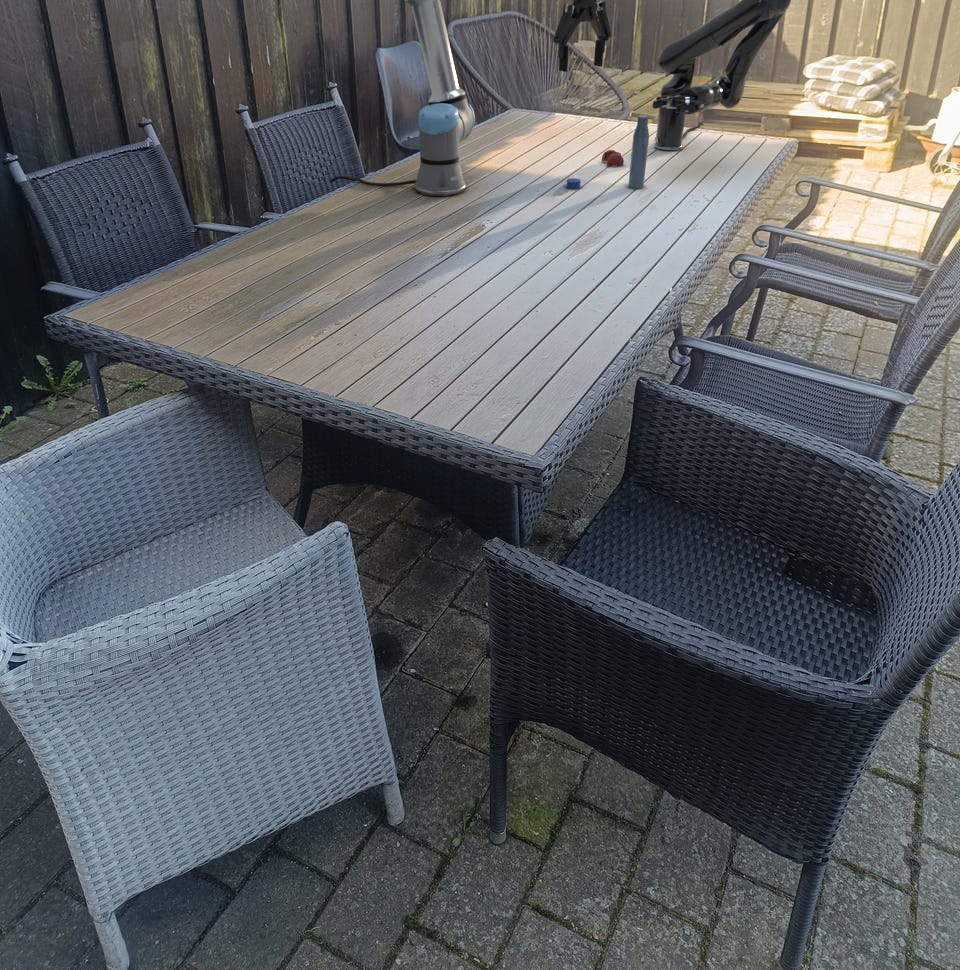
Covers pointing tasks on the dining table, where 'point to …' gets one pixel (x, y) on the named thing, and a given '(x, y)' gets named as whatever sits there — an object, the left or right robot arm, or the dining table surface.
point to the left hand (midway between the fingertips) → (580, 68)
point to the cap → (573, 183)
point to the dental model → (612, 158)
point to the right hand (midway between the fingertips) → (665, 107)
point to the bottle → (639, 153)
